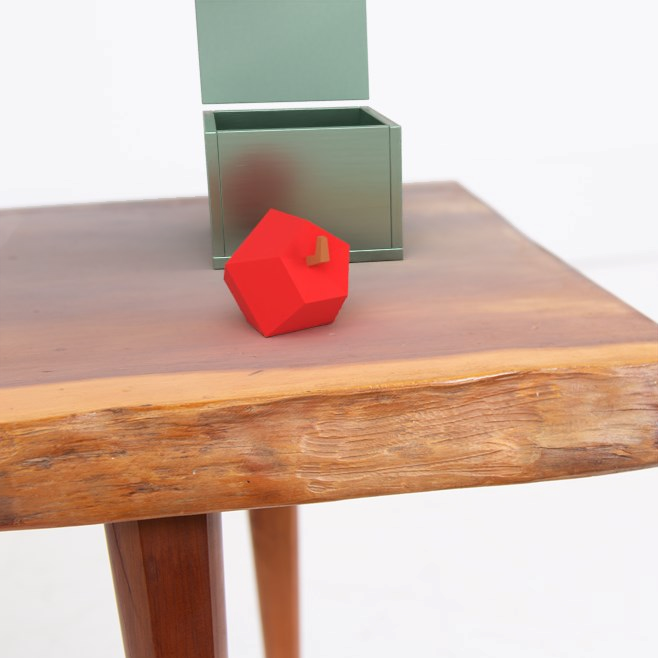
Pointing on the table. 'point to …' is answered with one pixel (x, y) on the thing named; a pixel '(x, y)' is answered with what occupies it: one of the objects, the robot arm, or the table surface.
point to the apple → (288, 275)
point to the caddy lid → (282, 50)
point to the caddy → (306, 176)
